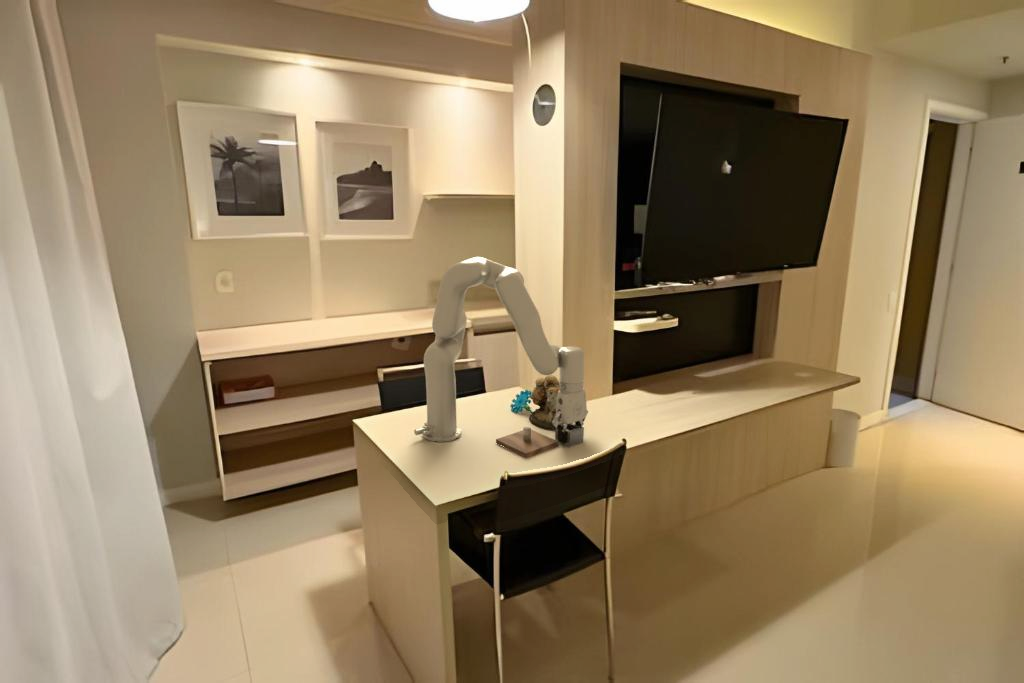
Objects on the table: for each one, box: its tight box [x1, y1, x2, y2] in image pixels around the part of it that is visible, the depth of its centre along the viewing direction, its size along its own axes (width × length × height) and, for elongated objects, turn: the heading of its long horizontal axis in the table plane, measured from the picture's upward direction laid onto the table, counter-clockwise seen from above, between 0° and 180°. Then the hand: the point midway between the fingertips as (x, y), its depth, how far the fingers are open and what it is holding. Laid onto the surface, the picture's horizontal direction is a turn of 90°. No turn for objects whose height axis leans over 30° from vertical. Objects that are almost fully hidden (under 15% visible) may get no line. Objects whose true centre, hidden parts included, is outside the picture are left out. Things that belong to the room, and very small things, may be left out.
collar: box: [554, 423, 585, 448], centre depth 178 cm, size 6×6×5 cm
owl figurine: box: [528, 374, 563, 432], centre depth 194 cm, size 18×12×17 cm, turn 34°
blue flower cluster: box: [509, 389, 534, 414], centre depth 206 cm, size 11×6×10 cm
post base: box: [495, 426, 559, 459], centre depth 175 cm, size 14×14×6 cm
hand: (569, 438), depth 178 cm, fingers closed on collar, 6 cm apart
